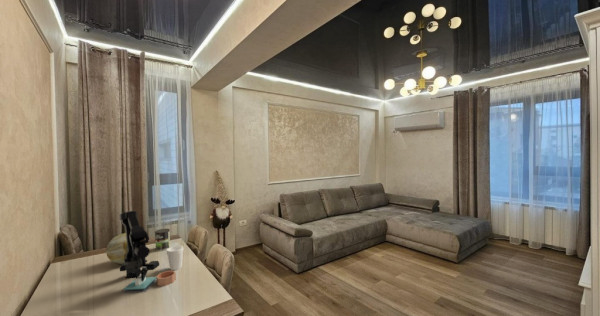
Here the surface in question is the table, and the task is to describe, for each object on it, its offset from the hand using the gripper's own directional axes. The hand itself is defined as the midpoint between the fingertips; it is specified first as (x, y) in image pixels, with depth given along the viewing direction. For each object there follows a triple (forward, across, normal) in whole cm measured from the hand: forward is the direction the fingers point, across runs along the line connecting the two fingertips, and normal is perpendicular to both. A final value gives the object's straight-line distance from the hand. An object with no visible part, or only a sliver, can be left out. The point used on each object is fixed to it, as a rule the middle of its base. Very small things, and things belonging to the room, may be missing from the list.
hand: (140, 281), depth 138 cm
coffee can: (+4, -20, +58) cm, 61 cm away
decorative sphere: (+4, -33, +34) cm, 48 cm away
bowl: (+3, +12, +4) cm, 13 cm away
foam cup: (+4, +9, +21) cm, 23 cm away
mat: (+3, 0, 0) cm, 3 cm away
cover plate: (+2, 0, 0) cm, 2 cm away
